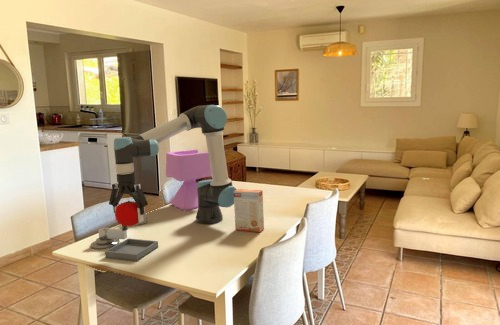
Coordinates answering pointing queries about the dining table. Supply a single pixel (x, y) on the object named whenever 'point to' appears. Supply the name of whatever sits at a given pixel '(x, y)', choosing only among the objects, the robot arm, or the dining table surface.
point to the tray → (131, 249)
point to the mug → (143, 217)
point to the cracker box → (249, 210)
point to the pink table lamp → (187, 175)
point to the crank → (113, 233)
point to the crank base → (104, 243)
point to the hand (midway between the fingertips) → (129, 220)
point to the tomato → (127, 213)
